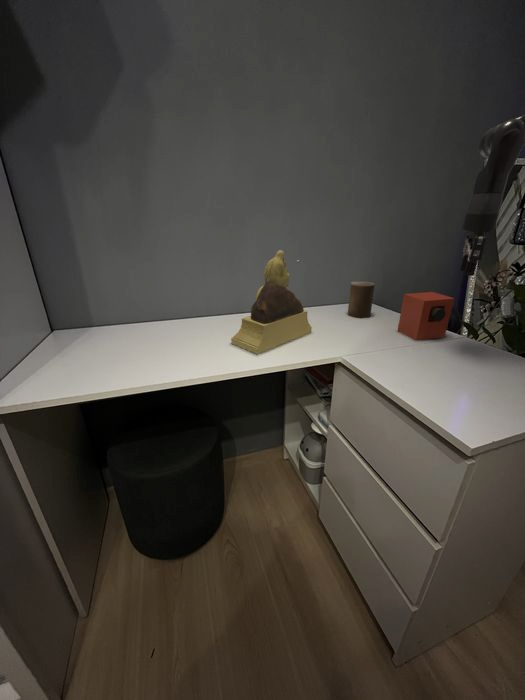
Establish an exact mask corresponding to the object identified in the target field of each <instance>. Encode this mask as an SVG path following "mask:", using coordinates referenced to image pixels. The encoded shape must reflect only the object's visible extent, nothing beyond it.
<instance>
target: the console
mask: <svg viewBox="0 0 525 700" xmlns="http://www.w3.org/2000/svg"><path fill="white" fill-rule="evenodd" d="M454 302H455V297H450V296H448V295H444V294H441V293H438V292H435V291H427V292H414V293H403V299H402V304H401V310H400V316H399V320H398V325H397V332H399V333H401V334H403V335H404V336H407V337H409V338H411V339H412V340H414V341H421V340H430V339H437V338H438V339H439V338H445V337H446V334H447V330H448V326H449V322H450V318H451V314H452V311H453V310H452V309H453V306H454ZM435 308H441V309H444V310H445V313H446V314H445V317H444V318H443V320H441V321H439V322H437V321H434V320H432V319H431V317H430V314H431V312H432V311H433V310H434V309H435Z"/></svg>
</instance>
